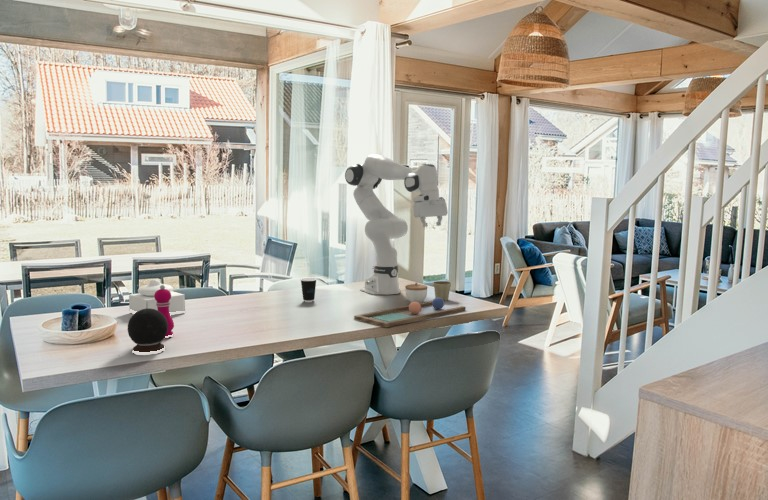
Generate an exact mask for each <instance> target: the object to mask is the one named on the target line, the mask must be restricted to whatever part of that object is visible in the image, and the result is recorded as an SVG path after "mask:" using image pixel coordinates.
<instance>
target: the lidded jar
mask: <svg viewBox="0 0 768 500" xmlns="http://www.w3.org/2000/svg"><path fill="white" fill-rule="evenodd" d="M404 287H405V288H404V289H405V296H406V298H407V300H408V301H409V302H410V304H411V303H412V302H418V303H423V302H424V301H425V300H426V298H427V295H428V286H427V285H425V284H418V282H415V284H407V285H405V286H404Z"/></svg>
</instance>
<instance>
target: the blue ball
mask: <svg viewBox="0 0 768 500" xmlns="http://www.w3.org/2000/svg"><path fill="white" fill-rule="evenodd" d="M431 301H432V305H431V306H432V307H433V308H434V309H435V310H441V309H443V307H444V306H445V300H443V299H442V298H439V297H437V298H433V300H431Z"/></svg>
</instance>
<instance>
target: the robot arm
mask: <svg viewBox="0 0 768 500" xmlns="http://www.w3.org/2000/svg"><path fill="white" fill-rule="evenodd" d="M344 178H345V181H346V183H347V184H348V185H350V186H353V187H354V186H356V187H355V188H354V190H353V197H354V199H355V202H356V205H357V206H358V208H359V209H360V211H361V212H362V214H363V215H364V217H365V218H366V219H367V220H368V221H367V222H366V224H365V225H364V233H365V235H366V237H367V238H368V239H369V240H370V241H371V242H372V245H373V247H374V250H375V265H373V267H372V270H373V273H371V274H370V275H369V276H368V277H367V278H366V279H365V281H364V286H363V287H360V289H359V291H361V292H365V293H367V294H370V295H385V296H386V295H396V294H400V293H401V288H400V282H399V276H398V273H399V266H398V251H397V249H396V248H395V247H393V246H392V244H391V241H390V240H392V239H393V240H394V239H399V238H402V237H404V236H405V235H406V234H407V232H408V227H409V226H408V224H407V222H406V220H405V219H403V218H401V217H399V216H397V215H395V214H394V213H392V211H390V210H389V209H387V208H386V206H384V204H383V203H382V201H381V200H380V199H379V198H378V196H377V195H376V193H375V191H374V190H375V189H376V188H378V186H379V185H380V184H381V182H382V180H386V181H403V182H404V183H403V185H404V188H405V189H406V191H407V192H409V193H420V194H419V195H416V196H415V197H412V202H413V207H412V208H413V211H412V212H413V216H414V218H416V219H417V218H419V220H420V222H421V223H422V227H423V228H426V227H428V222H426V218H428V217H429V218H430V217H437V218H436V219H437V221H436V226H438V227H439V226H442V221H443V217H445V216H448V207H447V202H446V199H445V198H444V197H443V196H440V192H439V187H438V186H439V179H438V172H437V167H436V165H434V164H431V163H421V164H419V165H418V167H417V168H416V169H413V168H411V167H407V166H405V165H404V164H401V163H399V162H397V161H395V160H392V159H391V158H388V157H387V156H384V155H382V154H381V155H380V154H376V153H375V154H369V155H368V156H367V157H366V158H365V160H364V162H363V163H362V164H361V163H357V164H354V165H351V166H349V167H347V168H346V170H345V173H344Z"/></svg>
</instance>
